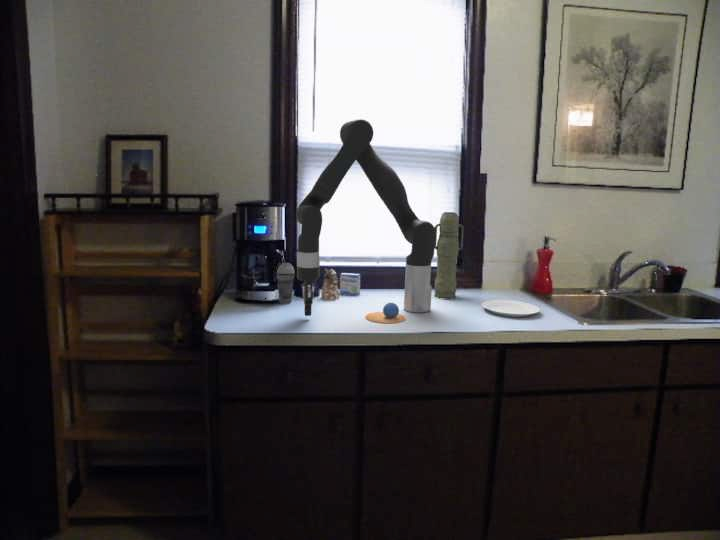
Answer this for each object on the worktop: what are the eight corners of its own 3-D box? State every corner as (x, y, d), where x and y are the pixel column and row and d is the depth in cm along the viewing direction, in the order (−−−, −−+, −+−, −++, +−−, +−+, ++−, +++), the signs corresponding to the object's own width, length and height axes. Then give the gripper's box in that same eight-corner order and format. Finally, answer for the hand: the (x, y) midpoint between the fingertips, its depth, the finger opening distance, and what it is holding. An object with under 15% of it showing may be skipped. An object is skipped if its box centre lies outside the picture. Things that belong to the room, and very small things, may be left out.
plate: (471, 311, 189) (471, 306, 189) (498, 302, 204) (498, 297, 204) (523, 323, 175) (524, 317, 175) (548, 313, 190) (549, 307, 190)
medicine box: (339, 294, 209) (339, 274, 208) (341, 292, 214) (342, 272, 212) (358, 296, 208) (358, 275, 207) (360, 293, 213) (360, 273, 211)
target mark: (400, 312, 184) (400, 311, 184) (410, 323, 171) (410, 322, 171) (362, 312, 182) (362, 312, 182) (369, 324, 168) (369, 323, 168)
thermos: (428, 294, 215) (432, 211, 208) (455, 294, 216) (460, 212, 210) (433, 299, 206) (438, 213, 200) (461, 299, 207) (467, 213, 201)
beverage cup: (291, 305, 190) (291, 252, 186) (272, 304, 191) (272, 251, 187) (297, 301, 197) (297, 250, 193) (279, 299, 198) (279, 249, 194)
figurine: (333, 301, 198) (333, 271, 196) (317, 298, 201) (318, 269, 199) (342, 297, 204) (343, 268, 202) (327, 295, 207) (328, 266, 205)
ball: (398, 303, 178) (384, 299, 177) (402, 307, 173) (387, 302, 172) (394, 317, 179) (379, 314, 178) (397, 322, 174) (382, 318, 173)
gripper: (321, 268, 163) (320, 320, 166) (317, 261, 175) (317, 310, 179) (298, 268, 161) (297, 320, 164) (296, 261, 174) (295, 310, 177)
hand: (307, 315), depth 171 cm, fingers closed
